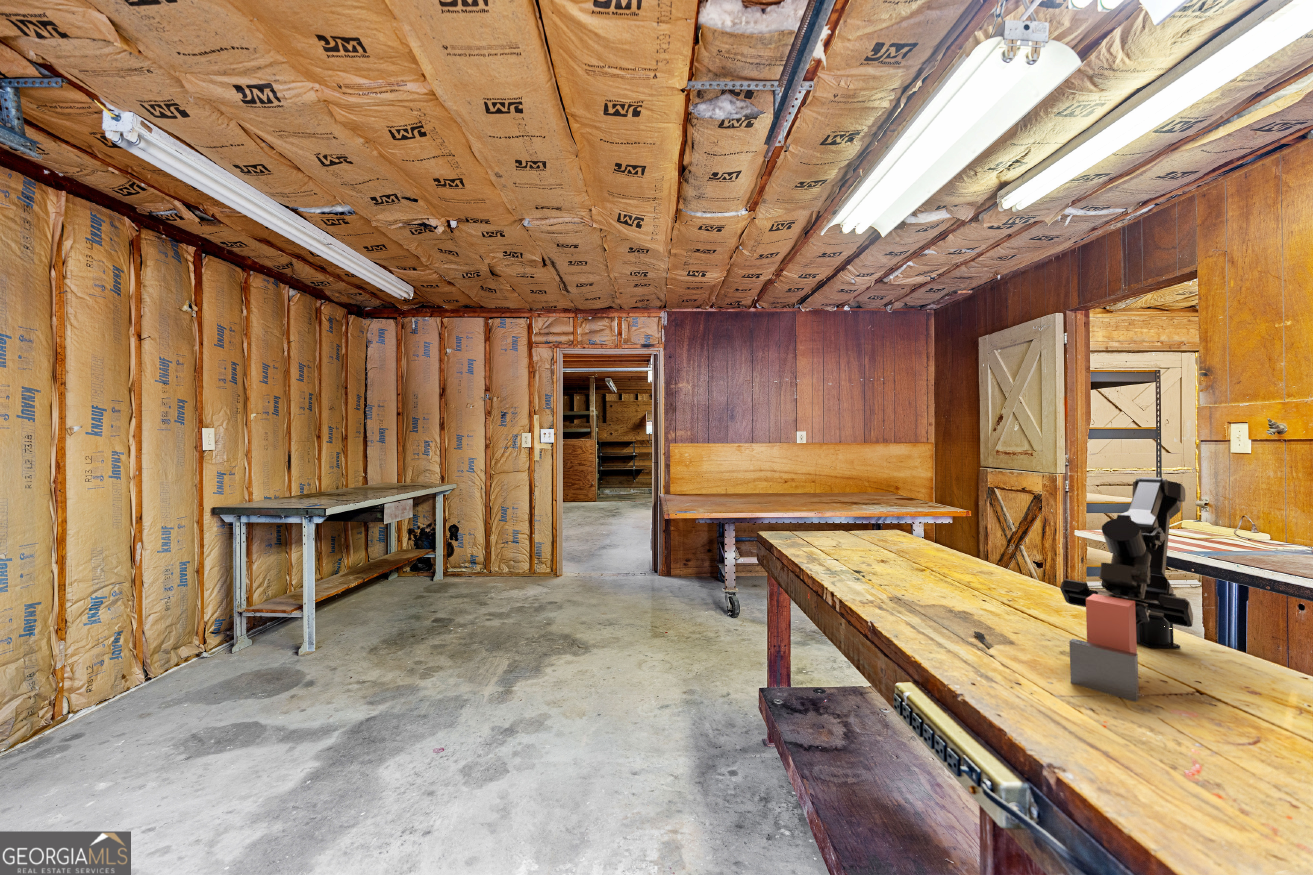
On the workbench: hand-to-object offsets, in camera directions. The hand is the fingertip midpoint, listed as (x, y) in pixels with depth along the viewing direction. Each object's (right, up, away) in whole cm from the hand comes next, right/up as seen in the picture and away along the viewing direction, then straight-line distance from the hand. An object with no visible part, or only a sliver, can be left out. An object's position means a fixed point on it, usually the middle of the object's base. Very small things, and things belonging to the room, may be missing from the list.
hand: (1115, 638), depth 97 cm
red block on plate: (-2, -7, -2) cm, 8 cm away
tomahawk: (-12, -9, +14) cm, 21 cm away
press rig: (-2, -8, -2) cm, 9 cm away
